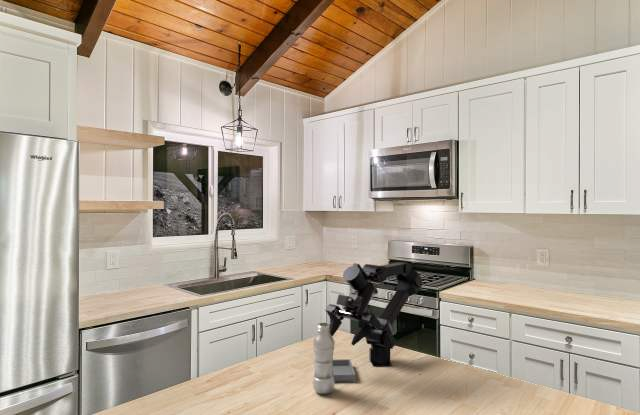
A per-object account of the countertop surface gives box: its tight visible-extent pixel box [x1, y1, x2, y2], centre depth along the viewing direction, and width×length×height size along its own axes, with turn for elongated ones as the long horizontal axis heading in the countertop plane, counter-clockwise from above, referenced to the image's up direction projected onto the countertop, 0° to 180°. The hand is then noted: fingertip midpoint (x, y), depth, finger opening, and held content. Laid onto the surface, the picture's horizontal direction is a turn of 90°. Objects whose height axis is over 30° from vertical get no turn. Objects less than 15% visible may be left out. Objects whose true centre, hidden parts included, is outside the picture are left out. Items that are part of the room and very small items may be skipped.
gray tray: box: [333, 358, 357, 383], centre depth 133 cm, size 12×12×2 cm
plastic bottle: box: [312, 322, 336, 395], centre depth 121 cm, size 6×7×20 cm
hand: (340, 341), depth 126 cm, fingers open, 9 cm apart
